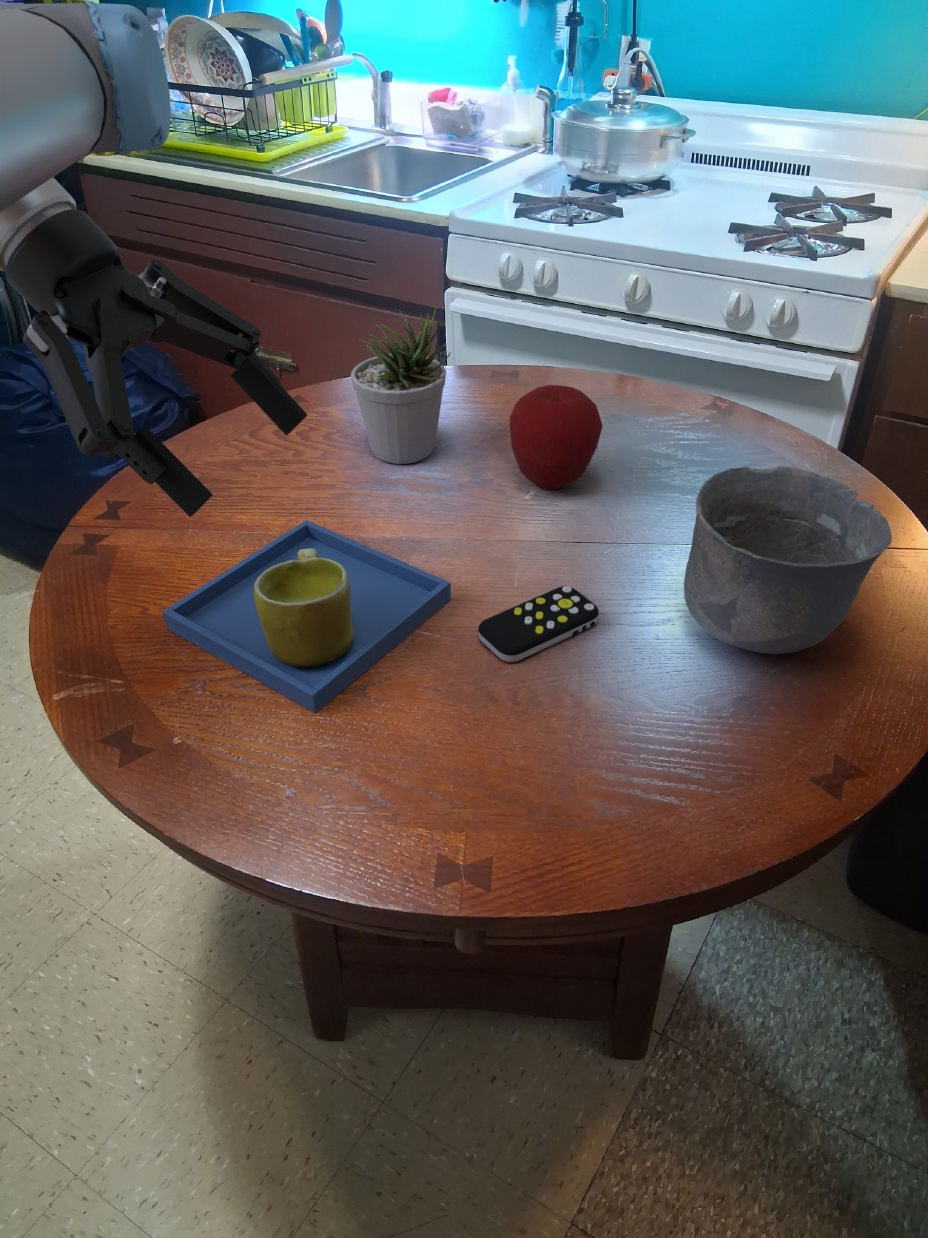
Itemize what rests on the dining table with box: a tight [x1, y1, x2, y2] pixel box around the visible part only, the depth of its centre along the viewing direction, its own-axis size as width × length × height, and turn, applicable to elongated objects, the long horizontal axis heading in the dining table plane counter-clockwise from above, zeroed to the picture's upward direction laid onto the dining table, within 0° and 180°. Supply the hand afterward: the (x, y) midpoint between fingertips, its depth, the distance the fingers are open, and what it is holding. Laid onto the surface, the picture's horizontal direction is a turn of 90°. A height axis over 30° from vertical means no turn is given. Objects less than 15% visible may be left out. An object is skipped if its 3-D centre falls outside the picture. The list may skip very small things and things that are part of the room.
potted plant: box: [350, 307, 452, 465], centre depth 116 cm, size 13×14×20 cm
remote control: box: [477, 585, 600, 663], centre depth 92 cm, size 6×13×2 cm, turn 124°
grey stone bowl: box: [683, 465, 893, 655], centre depth 87 cm, size 18×18×15 cm
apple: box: [509, 384, 603, 491], centre depth 112 cm, size 12×12×13 cm
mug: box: [254, 548, 354, 668], centre depth 88 cm, size 12×10×10 cm
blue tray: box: [161, 519, 452, 714], centre depth 94 cm, size 22×22×2 cm
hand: (253, 463), depth 68 cm, fingers open, 13 cm apart
